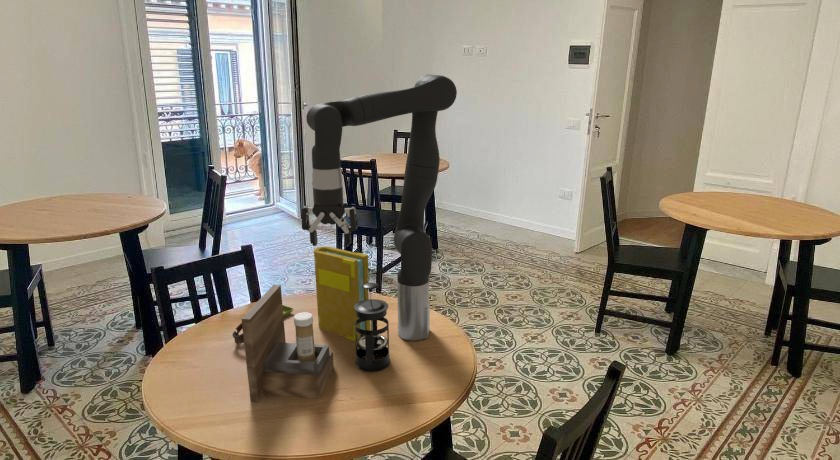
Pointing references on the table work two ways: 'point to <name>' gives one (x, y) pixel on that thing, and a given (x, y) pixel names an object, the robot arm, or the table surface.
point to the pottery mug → (238, 338)
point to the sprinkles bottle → (304, 336)
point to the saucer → (286, 310)
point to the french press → (372, 333)
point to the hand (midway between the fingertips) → (330, 245)
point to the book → (340, 289)
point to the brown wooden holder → (279, 354)
